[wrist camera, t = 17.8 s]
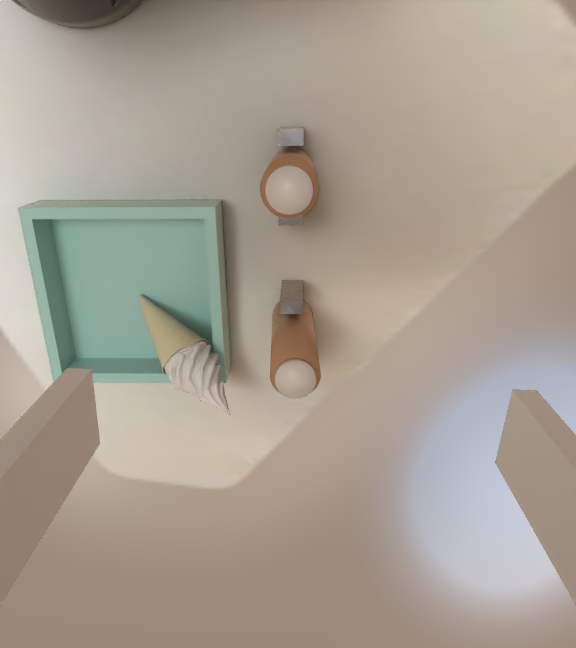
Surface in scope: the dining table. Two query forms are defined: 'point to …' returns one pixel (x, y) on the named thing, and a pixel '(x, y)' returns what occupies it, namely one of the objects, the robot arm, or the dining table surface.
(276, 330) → the cylinder
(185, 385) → the ice cream cone
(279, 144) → the clip row
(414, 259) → the dining table surface
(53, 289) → the tray
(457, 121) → the dining table surface
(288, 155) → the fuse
